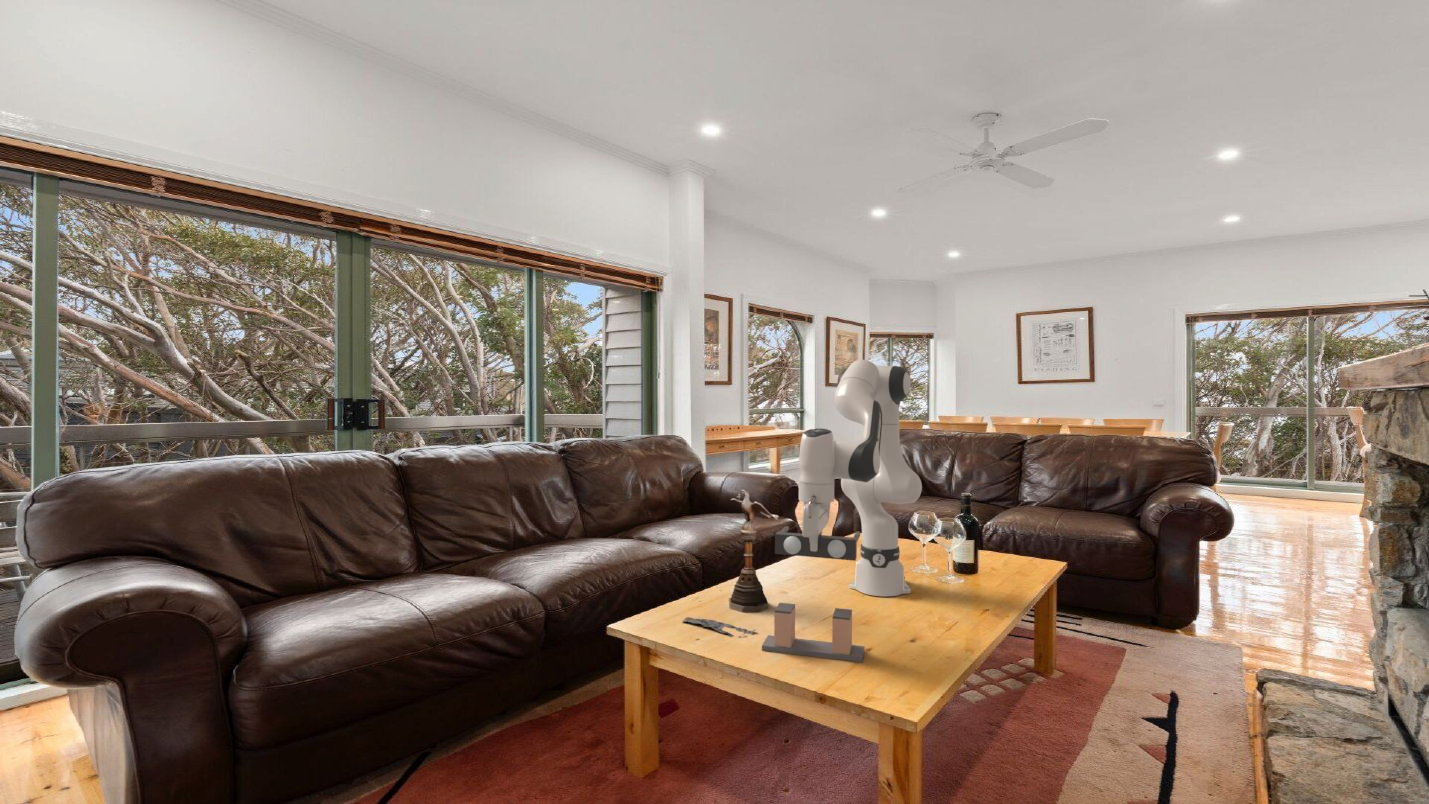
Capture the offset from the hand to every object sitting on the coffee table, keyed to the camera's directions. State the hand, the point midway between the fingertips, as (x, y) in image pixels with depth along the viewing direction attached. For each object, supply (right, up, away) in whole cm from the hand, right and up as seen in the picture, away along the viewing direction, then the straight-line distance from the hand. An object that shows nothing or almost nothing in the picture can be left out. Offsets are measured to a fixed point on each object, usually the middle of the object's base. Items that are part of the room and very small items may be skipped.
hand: (815, 549), depth 164 cm
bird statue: (-14, -23, +31) cm, 41 cm away
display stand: (-1, -24, -4) cm, 24 cm away
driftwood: (-25, -24, +11) cm, 36 cm away
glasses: (+1, -2, +4) cm, 5 cm away
